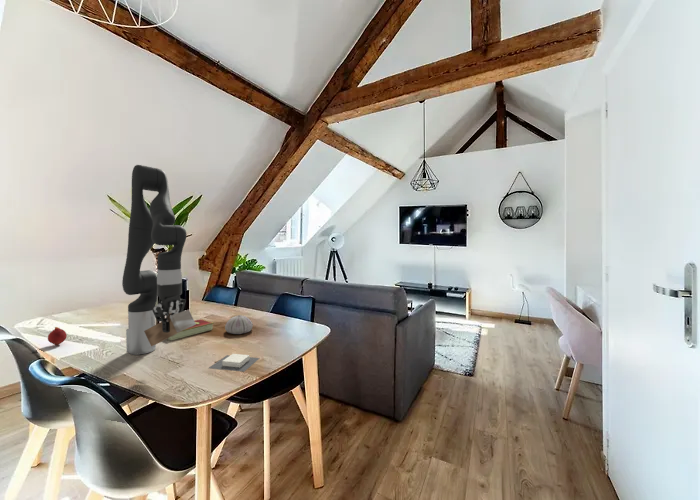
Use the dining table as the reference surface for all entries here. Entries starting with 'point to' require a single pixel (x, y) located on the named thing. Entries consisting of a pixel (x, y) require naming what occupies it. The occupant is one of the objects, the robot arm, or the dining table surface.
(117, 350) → the dining table surface
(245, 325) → the sea urchin shell
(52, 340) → the onion
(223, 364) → the tile
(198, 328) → the hardcover book
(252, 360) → the mat
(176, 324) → the wooden post on base
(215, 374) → the dining table surface
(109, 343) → the dining table surface
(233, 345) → the dining table surface
